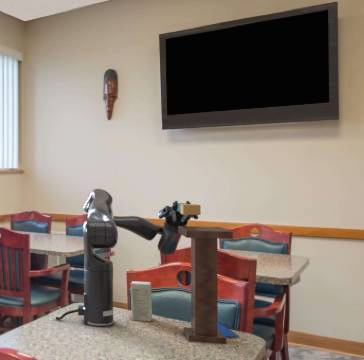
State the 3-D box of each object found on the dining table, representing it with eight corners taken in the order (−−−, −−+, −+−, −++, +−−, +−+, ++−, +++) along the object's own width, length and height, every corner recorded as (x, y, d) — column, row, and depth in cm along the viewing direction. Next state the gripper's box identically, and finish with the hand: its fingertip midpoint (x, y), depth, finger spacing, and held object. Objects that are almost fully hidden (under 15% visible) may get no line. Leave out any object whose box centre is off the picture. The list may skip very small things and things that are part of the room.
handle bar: (183, 214, 152) (183, 205, 152) (171, 210, 174) (171, 201, 174) (200, 214, 151) (200, 205, 151) (186, 210, 173) (186, 201, 173)
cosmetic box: (152, 318, 164) (152, 282, 164) (151, 322, 160) (151, 284, 160) (132, 316, 166) (132, 280, 166) (130, 319, 162) (130, 282, 162)
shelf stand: (186, 344, 138) (186, 230, 138) (178, 329, 152) (178, 226, 152) (233, 347, 136) (232, 231, 136) (220, 331, 149) (219, 226, 149)
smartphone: (213, 336, 144) (193, 320, 159) (213, 339, 144) (193, 323, 159) (238, 336, 144) (217, 320, 159) (238, 339, 144) (217, 323, 159)
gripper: (196, 234, 178) (205, 213, 164) (155, 233, 181) (161, 212, 167) (194, 215, 182) (203, 193, 167) (154, 214, 185) (159, 193, 170)
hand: (182, 203), depth 167 cm, fingers closed on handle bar, 3 cm apart
